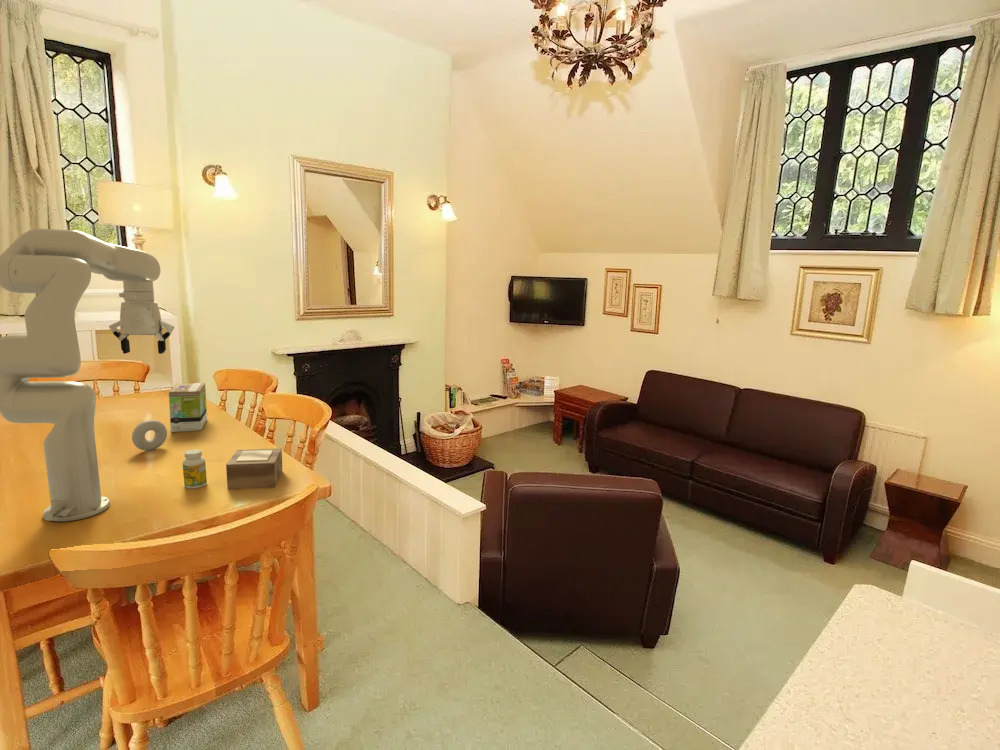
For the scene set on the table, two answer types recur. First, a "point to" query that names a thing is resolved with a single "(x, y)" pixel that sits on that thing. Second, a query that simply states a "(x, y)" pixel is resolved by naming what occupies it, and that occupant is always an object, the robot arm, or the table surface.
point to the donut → (144, 427)
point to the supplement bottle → (194, 469)
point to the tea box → (187, 407)
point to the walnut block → (254, 468)
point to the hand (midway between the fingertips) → (144, 352)
